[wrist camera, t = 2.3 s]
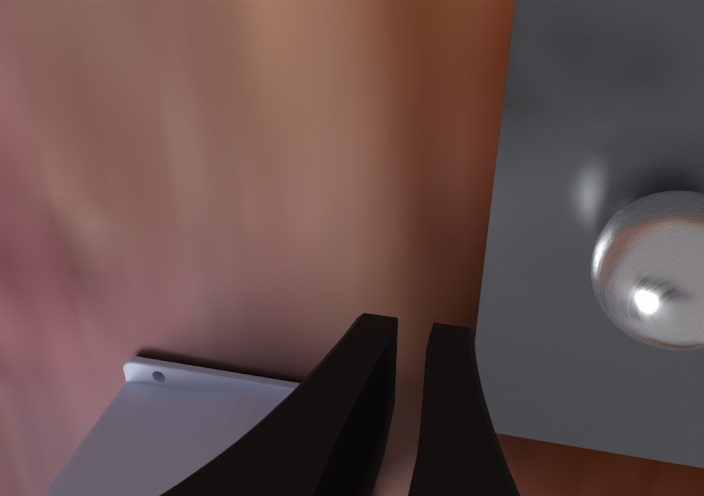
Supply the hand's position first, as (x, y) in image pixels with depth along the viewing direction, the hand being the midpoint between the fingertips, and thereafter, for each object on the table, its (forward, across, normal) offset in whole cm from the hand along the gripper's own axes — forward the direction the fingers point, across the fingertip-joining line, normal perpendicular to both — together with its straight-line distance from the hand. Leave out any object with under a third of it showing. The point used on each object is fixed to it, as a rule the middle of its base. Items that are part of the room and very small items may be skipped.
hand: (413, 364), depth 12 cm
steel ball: (+4, -5, 0) cm, 7 cm away
